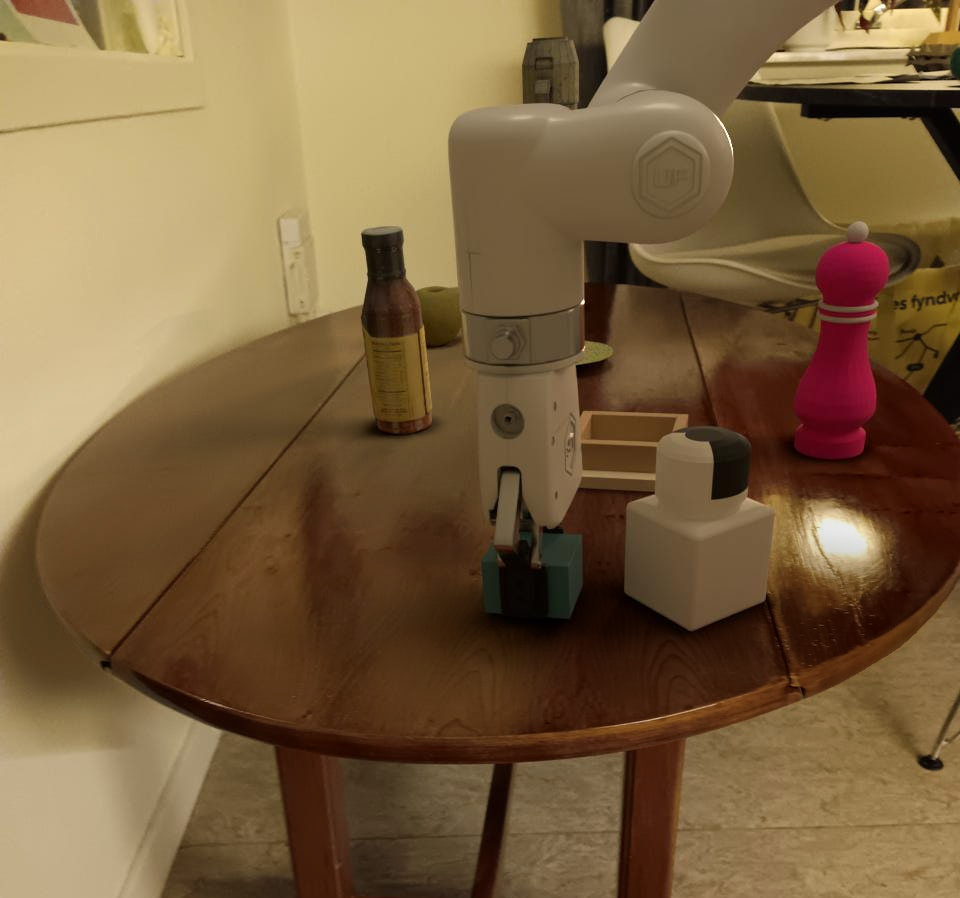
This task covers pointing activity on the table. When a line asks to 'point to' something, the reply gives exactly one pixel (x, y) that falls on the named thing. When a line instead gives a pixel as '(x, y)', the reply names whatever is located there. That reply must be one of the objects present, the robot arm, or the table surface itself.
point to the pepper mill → (841, 350)
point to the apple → (439, 314)
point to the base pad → (623, 448)
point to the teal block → (561, 573)
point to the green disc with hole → (595, 352)
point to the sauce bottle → (394, 337)
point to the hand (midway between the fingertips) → (534, 593)
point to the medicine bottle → (699, 531)
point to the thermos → (551, 72)
